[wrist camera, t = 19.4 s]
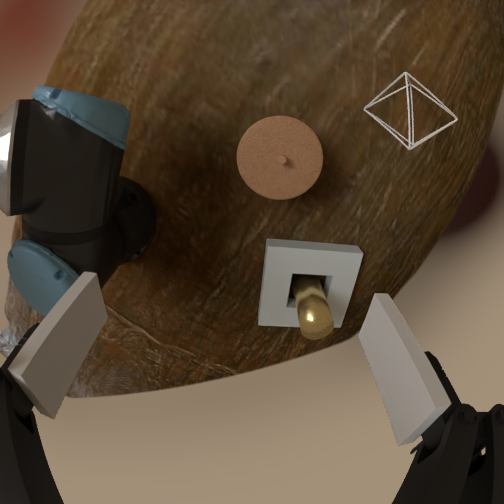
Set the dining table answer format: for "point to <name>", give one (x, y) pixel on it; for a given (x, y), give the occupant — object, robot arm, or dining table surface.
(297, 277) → the gold cylinder
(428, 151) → the dining table surface
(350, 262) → the frame
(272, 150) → the lidded jar
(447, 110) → the geometric polyhedron
